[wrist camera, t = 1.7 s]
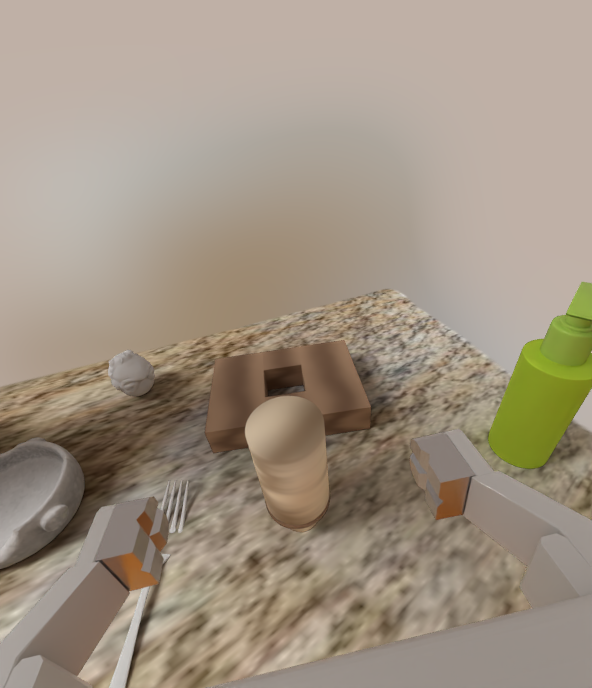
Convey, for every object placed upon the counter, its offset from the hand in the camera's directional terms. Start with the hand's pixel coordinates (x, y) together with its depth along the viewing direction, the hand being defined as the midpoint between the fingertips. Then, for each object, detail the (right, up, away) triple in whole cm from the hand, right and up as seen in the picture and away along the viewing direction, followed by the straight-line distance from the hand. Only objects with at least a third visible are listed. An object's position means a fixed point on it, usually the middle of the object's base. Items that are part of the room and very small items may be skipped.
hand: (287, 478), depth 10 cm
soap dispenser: (+25, -8, +27) cm, 38 cm away
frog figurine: (-24, -3, +41) cm, 48 cm away
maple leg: (+1, -13, +23) cm, 27 cm away
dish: (-31, -15, +27) cm, 44 cm away
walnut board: (-1, -4, +36) cm, 36 cm away
